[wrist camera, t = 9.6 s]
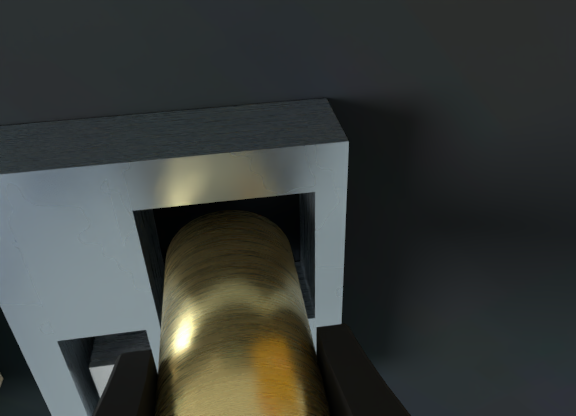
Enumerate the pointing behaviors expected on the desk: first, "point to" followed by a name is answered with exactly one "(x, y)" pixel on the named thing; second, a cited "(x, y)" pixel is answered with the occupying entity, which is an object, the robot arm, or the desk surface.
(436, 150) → the desk surface
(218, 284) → the gold metal cylinder
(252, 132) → the socket block
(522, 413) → the desk surface
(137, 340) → the bar
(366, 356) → the robot arm
